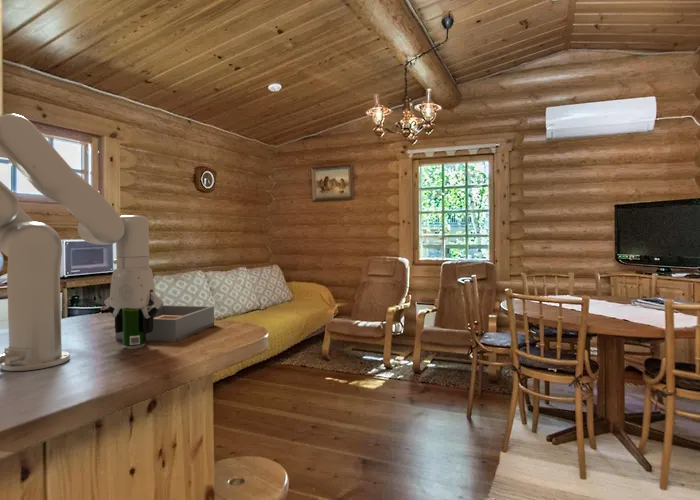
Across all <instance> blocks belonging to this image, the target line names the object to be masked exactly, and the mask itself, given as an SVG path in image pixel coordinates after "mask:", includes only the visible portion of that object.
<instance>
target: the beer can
mask: <svg viewBox="0 0 700 500" xmlns="http://www.w3.org/2000/svg"><path fill="white" fill-rule="evenodd" d="M143 318H145V316H144V314H143V312H142V310H141V309H130V308H124V309H122V332H123V340H122V347H123V348H124V349H126V350H127V349H128V350H129V349H130V350H133V349H141V348H143V347H146V343H147V341H146V334H143Z"/></svg>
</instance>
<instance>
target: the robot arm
mask: <svg viewBox="0 0 700 500" xmlns="http://www.w3.org/2000/svg"><path fill="white" fill-rule="evenodd" d="M0 158H3V159H4V158H5V159H8V160H9V162H11V164H12V165H14V167H15V168H16V170H18V171H19V172H20V173H21V174H22V175H23V177H24V178H26V180H27V181H28V182H29V183H30V184H31V185H32V186H33V187H34V188H35V189H36V190H37V191H38V193H40V194H42V195H43V196H45V197H46V198H49V199H50V200H53V201H54V202H56V203H58V204H59V205H60V206H62V207H64V208H65V209H66V210H67V211H68V212H69V213H70V214H72V215H73V217H75V218H76V220H78V225H77V233H78V235H79V237H80V238H81V239H82V240H83V241H85V242H86V243H89V244H92V245H100V246H101V245H104V246H105V245H114V244H115V249H116V250H115V251H116V253H115V254H116V255H115V256H116V258H114V259H113V260H112V261H113V262H112V263H113V264H114V265H116V268H115V269H113V271H112V275H111V281H110V290H109V296H108V297H107V298H106V299H105V300H104V301H103V303H104V305H105V306H106V307H107V309H108V311H109V312H110V313H111V316H112V317H113V318H114V329H115V331H114V332H115V334H116V333H119V332H122V309H124V308H130V309H141V310H142V312H143V314H144V316H145V318H143V334H148V333H150V332H152V331H153V317H154V316H155V314H156V313H157V312H158V311H159V309H160V308H161V307H162V305H164V304H165V303H164V301H163V299H161V298H160V297H159V296H158V295H157V294H156V290H155V279H154V274H153V270H152V268H150V237H149V236H150V231H149V229H150V228H149V225H150V224H149V220H148V219H149V218H147V217H146V216H145V215H133V214H132V215H131V214H129V215H127V214H126V215H125V214H124V215H119V213H118V212H117V211H116V210H115V209H114V207H113V206H112V205H111V204H110V203H109V202H108V200H107V199H106V198H105V197H104V196H103V195H102V194H101V193H100V192H99V191H98V190H97V189H96V188H95V187H94V186H92V185H91V184H90V183H88V181H86V180H85V179H84V178H83V177H82V176H81V175H79V174H78V173H77V171H75V170H74V169H73V168H72V167H71V166H70V165H69V163H68V162H66V160H65V158H63V157H62V155H61V154H60V153H59V152H58V151H57V150H56V148H54V146H53V145H52V144H51V143H50V142H49V140H48V139H46V137H45V136H44V135H43V134H42V133H41V131H40V130H39V129H38V128H37V127H36V125H34V124H33V122H32V121H30V120H29V119H27V118H26V117H24V115H23V116H22V115H20V114H18V113H17V114H16V113H6V114H2V115H0ZM62 245H63V244H62V239H61V237H60V235H59V233H58V232H57V230H55V229H54V228H53V227H52V226H51V225H48V224H46V223H44V222H41V221H40V222H39V221H34V220H33V218H32V217H30V216H29V215H28V214H27V213H26V212H25V211H24V209H22V208H21V207H20V201H19V199H18V197H17V195H16V194H15V193H14V192H13V190H12V189H10V188H9V187H7V186H6V185H5V184H4V182H2V181H1V180H0V252H1V253H2V254H4V255H5V256H6V257H7V272H6V273H7V274H6V279H7V280H6V281H7V282H6V288H7V292H6V293H7V316H8V321H7V322H8V347H4V352H3V353H1V354H0V369H1V370H3V371H6V372H7V371H8V372H23V371H25V372H26V371H34V370H40V369H45V368H50V367H55V366H58V365H61V364H64V363H66V362H67V361H69V360H70V357H71V353H70V352H67V351H64V350H63V349H62V348H63V347H62V308H61V307H62V306H61V305H62V302H61V301H62V299H61V297H62V296H61V265H62V256H63V246H62Z"/></svg>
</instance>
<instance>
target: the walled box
mask: <svg viewBox="0 0 700 500" xmlns="http://www.w3.org/2000/svg"><path fill="white" fill-rule="evenodd" d="M213 325H214V326H215V306H208V305H206V306H205V305H204V306H203V305H172V304H171V305H170V304H168V305H166V304H165V305H164V304H163V305H162V307H161V308H160V309H159V311H158V312H157V313H156V314H155V316H154V317H153V331H152V332H150V333H148V334H146V342H165V343H166V342H170V343H172V342H173V343H177V342H179V341H181V340H183V339H186V338H189V337H191V336H193V335H195V334H199V333H200V332H202V331H205V330H206V329H208V328H211V327H214V326H213ZM115 340H117V341H118V340H122V341H123V332H119V333H116V332H115Z"/></svg>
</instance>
